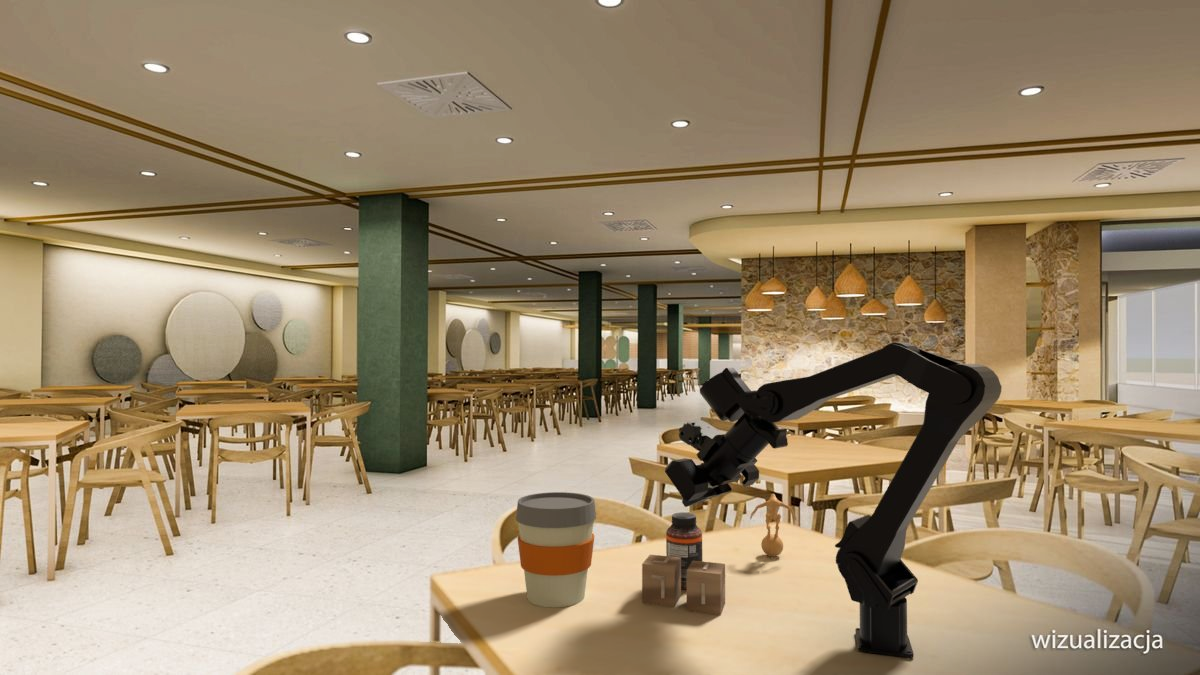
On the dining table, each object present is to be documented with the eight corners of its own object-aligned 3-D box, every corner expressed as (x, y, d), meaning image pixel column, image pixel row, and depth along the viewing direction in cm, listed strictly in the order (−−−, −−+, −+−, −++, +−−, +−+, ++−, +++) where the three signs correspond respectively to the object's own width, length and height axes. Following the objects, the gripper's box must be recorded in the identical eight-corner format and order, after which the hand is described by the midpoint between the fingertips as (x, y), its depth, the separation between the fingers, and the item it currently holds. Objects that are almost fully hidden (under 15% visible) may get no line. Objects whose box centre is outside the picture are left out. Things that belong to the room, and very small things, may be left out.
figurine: (793, 553, 126) (793, 490, 127) (798, 563, 120) (798, 496, 121) (748, 552, 128) (748, 489, 128) (751, 561, 122) (751, 495, 122)
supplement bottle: (679, 575, 114) (678, 508, 114) (709, 582, 110) (709, 514, 111) (659, 584, 110) (659, 515, 110) (690, 592, 106) (690, 521, 106)
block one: (720, 616, 96) (720, 573, 97) (686, 612, 98) (686, 569, 98) (725, 603, 101) (725, 562, 102) (692, 599, 103) (692, 559, 103)
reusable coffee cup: (606, 607, 100) (606, 506, 100) (522, 616, 96) (523, 511, 97) (584, 579, 112) (584, 489, 112) (509, 587, 108) (510, 494, 109)
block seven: (674, 608, 100) (674, 566, 100) (641, 604, 101) (641, 563, 101) (681, 596, 105) (680, 556, 105) (650, 592, 106) (650, 553, 106)
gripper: (743, 401, 113) (691, 459, 121) (674, 408, 100) (621, 472, 108) (785, 453, 108) (728, 510, 115) (718, 467, 95) (658, 530, 102)
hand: (684, 504), depth 110 cm, fingers closed
